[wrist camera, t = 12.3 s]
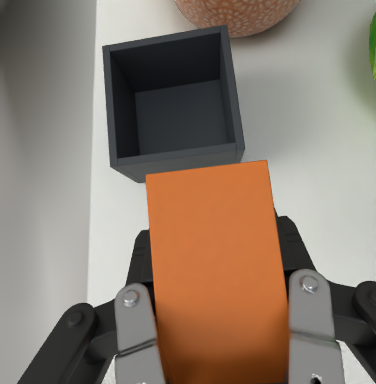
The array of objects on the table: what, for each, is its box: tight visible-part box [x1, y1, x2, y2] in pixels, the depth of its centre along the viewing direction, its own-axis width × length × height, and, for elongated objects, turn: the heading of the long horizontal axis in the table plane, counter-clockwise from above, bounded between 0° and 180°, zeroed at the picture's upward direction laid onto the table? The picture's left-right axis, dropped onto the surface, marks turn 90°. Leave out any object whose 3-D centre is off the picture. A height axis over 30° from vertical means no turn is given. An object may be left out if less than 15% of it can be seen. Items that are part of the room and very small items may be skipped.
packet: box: [146, 160, 288, 384], centre depth 14 cm, size 4×8×10 cm, turn 6°
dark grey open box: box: [102, 24, 245, 183], centre depth 32 cm, size 14×14×10 cm
